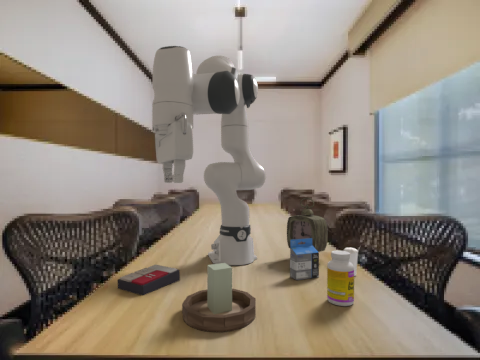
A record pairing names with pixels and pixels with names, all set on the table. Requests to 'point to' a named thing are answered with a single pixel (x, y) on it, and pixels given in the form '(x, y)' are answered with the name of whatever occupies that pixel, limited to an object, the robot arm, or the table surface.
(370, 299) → the table surface
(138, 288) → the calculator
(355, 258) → the milkshake
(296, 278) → the label tape cartridge
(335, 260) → the supplement bottle
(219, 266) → the block
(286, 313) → the table surface
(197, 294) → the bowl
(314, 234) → the tabletop clock
